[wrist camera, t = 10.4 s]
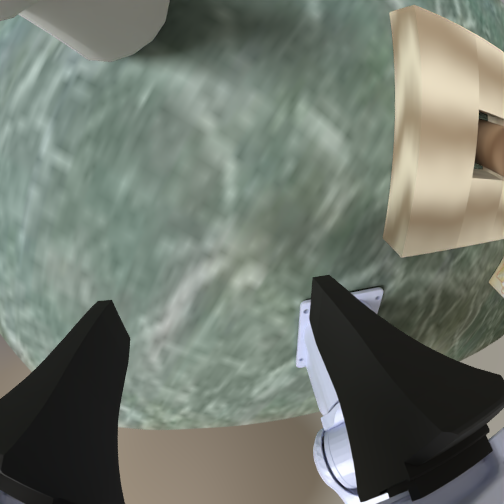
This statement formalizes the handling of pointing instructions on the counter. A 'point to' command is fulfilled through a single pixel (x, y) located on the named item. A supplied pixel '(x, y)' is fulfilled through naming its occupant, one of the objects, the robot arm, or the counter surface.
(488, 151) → the peg
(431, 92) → the socket block
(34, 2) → the salt shaker
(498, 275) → the coffeecake box
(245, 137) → the counter surface
